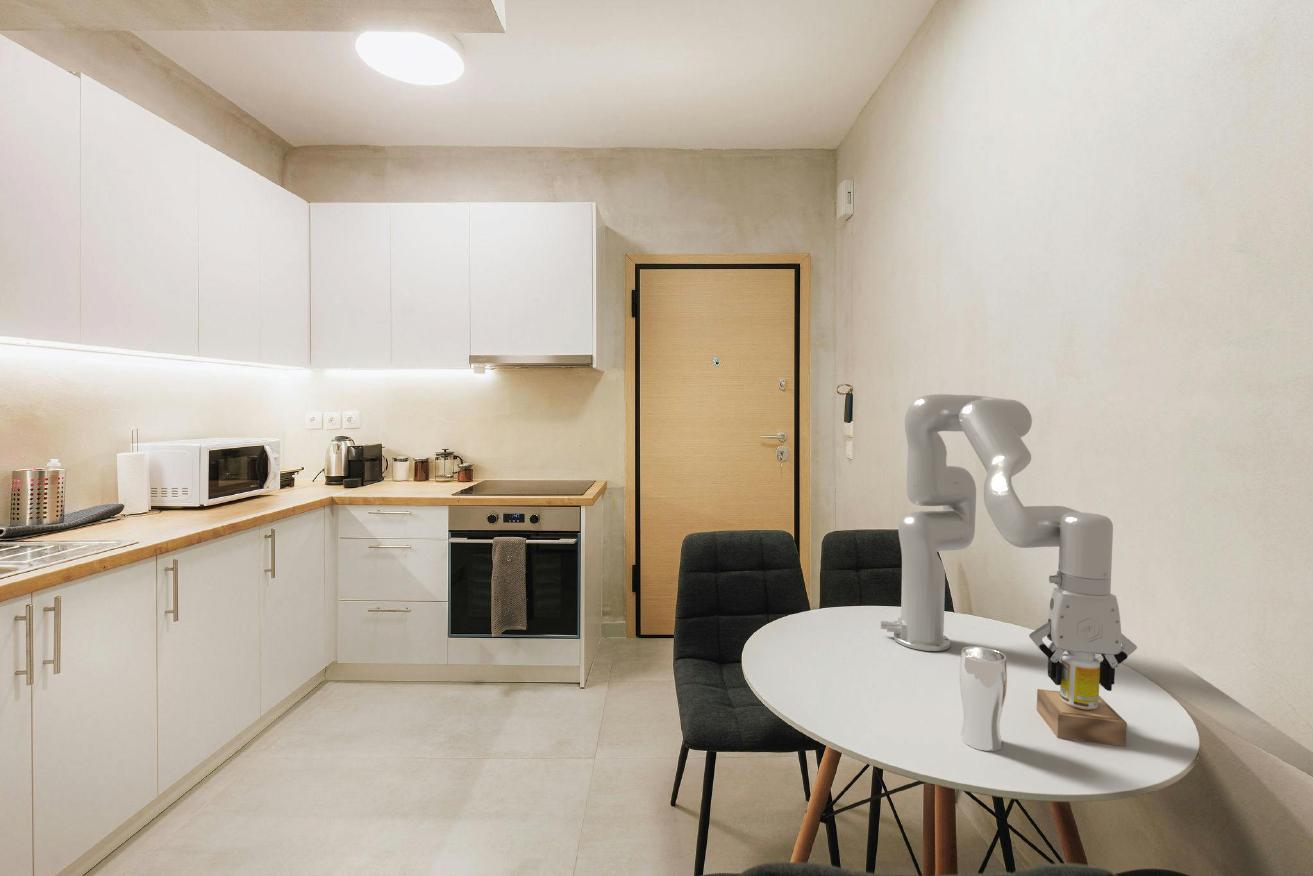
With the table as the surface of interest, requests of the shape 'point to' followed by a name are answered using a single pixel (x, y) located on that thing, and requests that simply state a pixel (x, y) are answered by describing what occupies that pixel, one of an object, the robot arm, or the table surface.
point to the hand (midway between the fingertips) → (1080, 684)
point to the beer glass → (982, 696)
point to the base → (1081, 720)
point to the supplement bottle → (1080, 680)
